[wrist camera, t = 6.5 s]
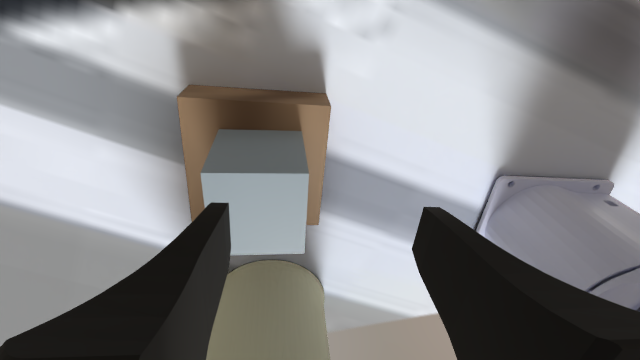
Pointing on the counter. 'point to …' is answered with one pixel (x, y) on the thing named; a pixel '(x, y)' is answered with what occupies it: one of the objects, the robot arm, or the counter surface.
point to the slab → (252, 114)
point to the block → (260, 189)
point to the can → (270, 315)
